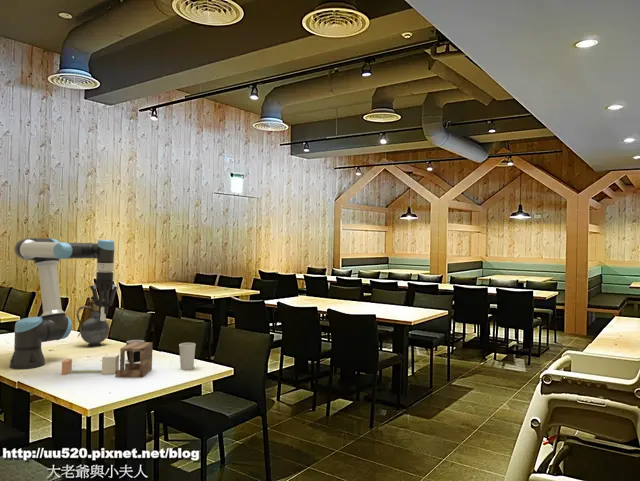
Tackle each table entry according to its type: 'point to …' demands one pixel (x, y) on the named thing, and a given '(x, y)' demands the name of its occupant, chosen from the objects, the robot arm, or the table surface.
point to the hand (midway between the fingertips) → (102, 320)
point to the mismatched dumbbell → (108, 367)
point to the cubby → (135, 368)
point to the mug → (136, 353)
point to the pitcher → (93, 326)
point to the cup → (187, 355)
